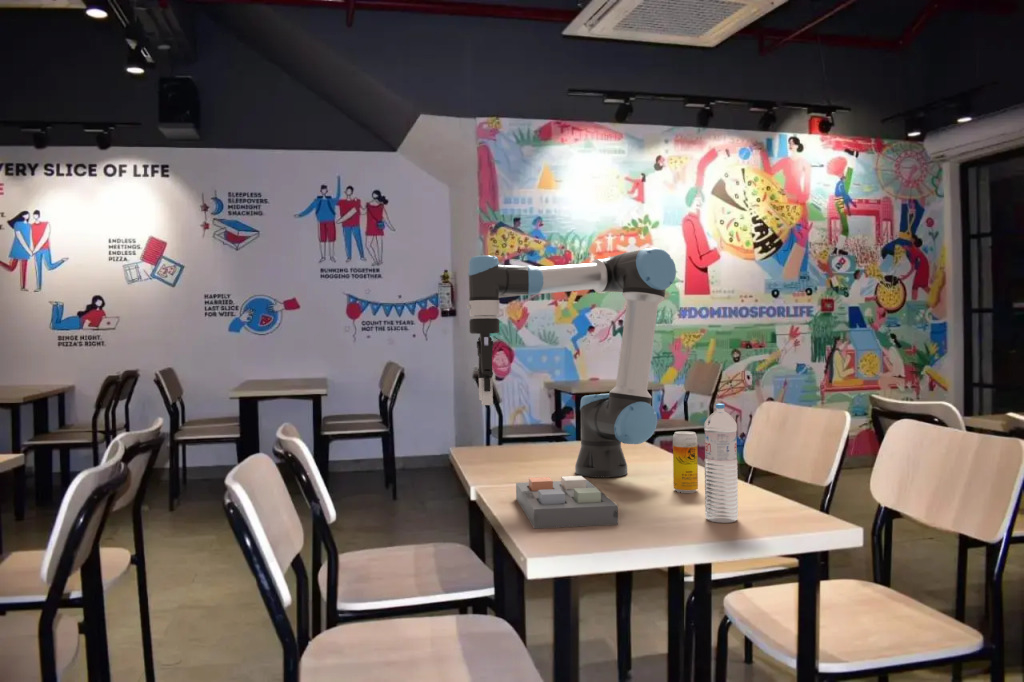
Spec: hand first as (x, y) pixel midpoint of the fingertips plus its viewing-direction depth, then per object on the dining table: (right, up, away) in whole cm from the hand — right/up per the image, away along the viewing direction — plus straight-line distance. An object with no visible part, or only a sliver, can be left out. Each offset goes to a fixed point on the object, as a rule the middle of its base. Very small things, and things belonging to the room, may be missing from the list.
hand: (485, 402), depth 181 cm
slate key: (+15, -21, -23) cm, 34 cm away
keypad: (+18, -24, -16) cm, 34 cm away
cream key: (+21, -20, -8) cm, 31 cm away
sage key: (+23, -21, -22) cm, 38 cm away
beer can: (+51, -23, +4) cm, 56 cm away
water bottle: (+52, -23, -25) cm, 62 cm away
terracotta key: (+14, -21, -9) cm, 26 cm away
